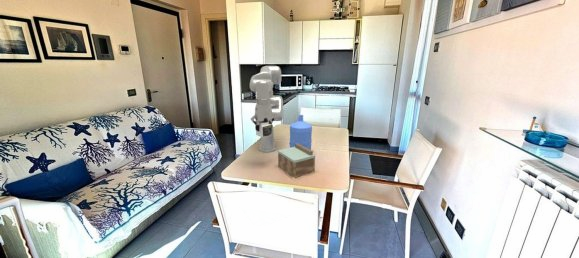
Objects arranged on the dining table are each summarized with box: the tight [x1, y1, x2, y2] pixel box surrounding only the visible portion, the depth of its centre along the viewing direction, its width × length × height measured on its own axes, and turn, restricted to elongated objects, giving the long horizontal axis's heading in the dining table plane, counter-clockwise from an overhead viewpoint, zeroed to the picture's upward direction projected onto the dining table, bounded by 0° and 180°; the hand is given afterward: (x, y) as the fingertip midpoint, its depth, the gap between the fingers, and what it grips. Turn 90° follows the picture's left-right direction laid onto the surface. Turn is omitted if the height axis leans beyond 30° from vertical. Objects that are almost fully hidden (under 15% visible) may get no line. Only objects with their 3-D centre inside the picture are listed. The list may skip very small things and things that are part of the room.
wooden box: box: [277, 152, 316, 179], centre depth 146 cm, size 18×15×9 cm
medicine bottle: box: [255, 118, 273, 138], centre depth 146 cm, size 7×7×12 cm
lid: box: [277, 143, 316, 163], centre depth 145 cm, size 18×15×4 cm
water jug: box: [289, 114, 313, 150], centre depth 169 cm, size 16×16×28 cm
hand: (263, 129), depth 147 cm, fingers closed on medicine bottle, 8 cm apart
